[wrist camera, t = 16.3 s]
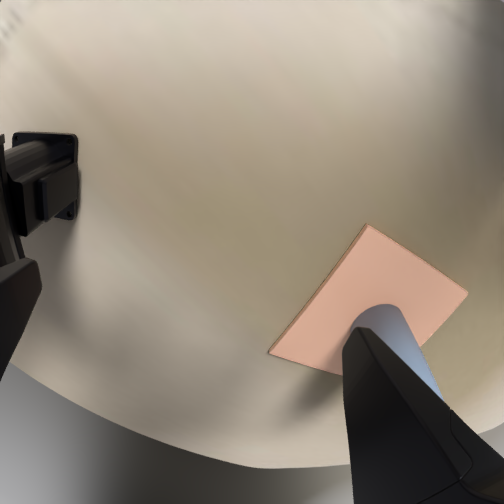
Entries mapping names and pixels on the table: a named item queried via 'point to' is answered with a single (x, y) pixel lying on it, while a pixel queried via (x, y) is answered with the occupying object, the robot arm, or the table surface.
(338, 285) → the terracotta tile
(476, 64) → the table surface
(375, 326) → the slate pillar
